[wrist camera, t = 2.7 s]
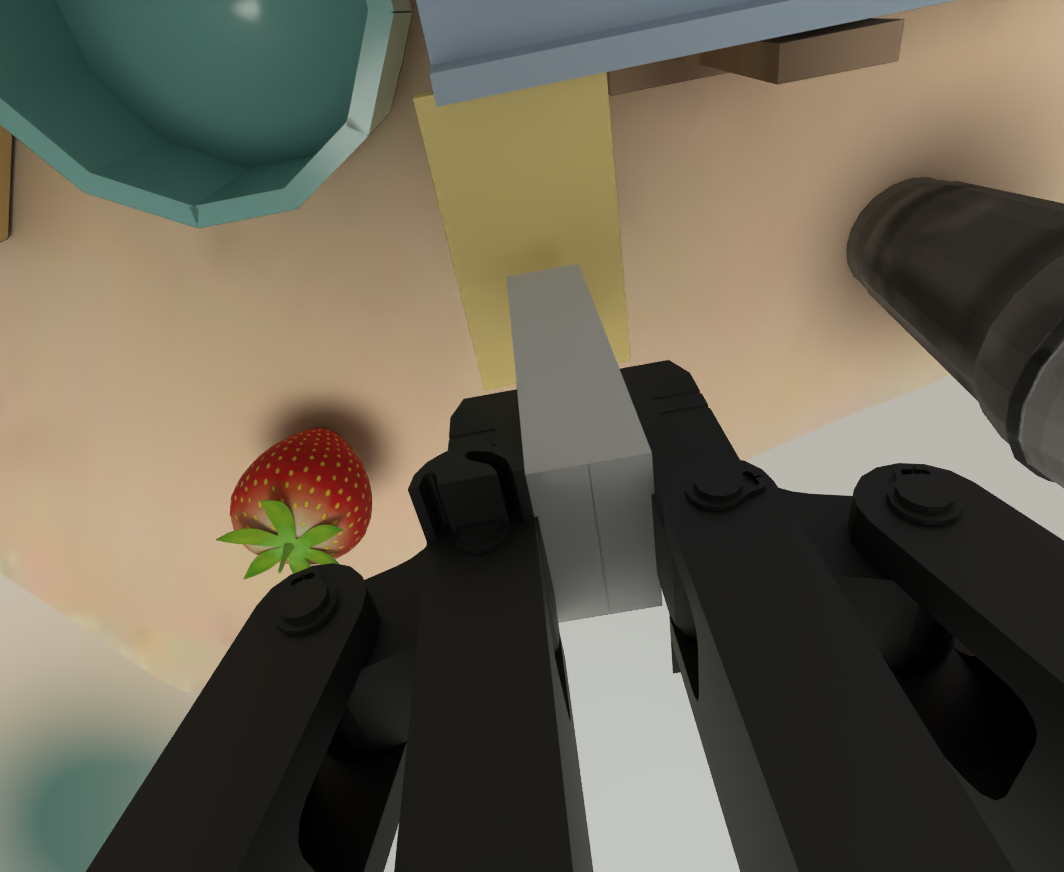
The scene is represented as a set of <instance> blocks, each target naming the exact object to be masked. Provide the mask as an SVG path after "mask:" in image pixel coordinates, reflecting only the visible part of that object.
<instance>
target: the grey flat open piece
mask: <svg viewBox="0 0 1064 872" xmlns="http://www.w3.org/2000/svg"><path fill="white" fill-rule="evenodd" d="M951 1H956V0H416V2H417V7H418V11H419V16H420V20H421V25H422V29H423V34H424V38H425V43H426V47H427V51H428V56H429V60H430V65H431V67H430V72H429V76H430V80H431V85H432V89H433V91H430V92H426V93H421V94H416V95H414V97H413V101H414V105H415V109H416V113H417V118H418V122H419V126H420V130H421V134H422V138H423V142H424V146H425V150H426V154H427V158H428V162H429V166H430V171H431V175H432V179H433V183H434V187H435V191H436V195H437V199H438V203H439V207H440V211H441V215H442V219H443V224H444V228H445V232H446V236H447V240H448V244H449V248H450V252H451V256H452V260H453V264H454V268H455V272H456V277H457V281H458V285H459V289H460V293H461V297H462V301H463V305H464V309H465V313H466V317H467V321H468V325H469V330H470V334H471V338H472V342H473V346H474V350H475V354H476V358H477V362H478V366H479V370H480V374H481V379H482V383H483V387H484V391H486V390H490V389H495V388H500V387H505V386H510V385H514V384H517V383H516V373H515V362H514V351H513V341H512V330H511V320H510V309H509V299H508V288H507V277H509V276H515V275H520V274H526V273H531V272H536V271H542V270H547V269H552V268H558V267H563V266H568V265H574V264H579V266H580V268H581V271H582V273H583V276H584V279H585V281H586V284H587V286H588V289H589V291H590V294H591V297H592V299H593V302H594V304H595V307H596V310H597V312H598V315H599V317H600V320H601V323H602V325H603V328H604V330H605V333H606V335H607V338H608V341H609V343H610V346H611V348H612V351H613V354H614V356H615V359H616V361H617V363H620V362H625V361H630V360H631V358H630V346H629V335H628V323H627V311H626V299H625V287H624V275H623V263H622V251H621V239H620V227H619V215H618V203H617V191H616V179H615V167H614V156H613V144H612V132H611V120H610V108H609V96H608V84H607V72H609V71H614V70H619V69H624V68H629V67H633V66H638V65H643V64H648V63H653V62H658V61H663V60H668V59H673V58H677V57H682V56H687V55H692V54H697V53H702V52H707V51H712V50H716V49H721V48H726V47H731V46H736V45H741V44H746V43H751V42H756V41H760V40H765V39H770V38H775V37H780V36H785V35H790V34H795V33H800V32H804V31H809V30H814V29H819V28H824V27H829V26H834V25H839V24H844V23H848V22H853V21H858V20H863V19H868V18H873V17H878V16H883V15H887V14H892V13H897V12H902V11H907V10H912V9H917V8H922V7H927V6H931V5H936V4H941V3H946V2H951Z"/></svg>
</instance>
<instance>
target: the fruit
mask: <svg viewBox="0 0 1064 872" xmlns="http://www.w3.org/2000/svg"><path fill="white" fill-rule="evenodd" d="M371 512H372V493H371V488H370V483H369V479H368V476H367V474H366V471H365V469H364V467H363V465H362V463H361V462H360V460H359V459H358V457H357V456H356V454H355V453H354V452H353V450H352V449H351V448H350V446H349V445H348V444H347V443H346V442H345V441H344V440H343V439H342V438H341V437H340V436H339V435H337V434H336V433H334V432H332V431H330V430H327V429H323V428H314V429H309V430H305V431H302V432H299V433H296V434H294V435H292V436H290V437H288V438H286V439H284V440H282V441H280V442H279V443H277V444H275V445H273V446H272V447H270V448H269V449H268V450H266V451H265V452H264V453H263V454H261V455H260V456H259V457H258V458H257V459H256V460H255V461H254V462H253V463H252V464H251V465H250V467H249V468H248V469H247V470H246V471H245V472H244V474H243V475H242V477H241V478H240V480H239V481H238V483H237V485H236V487H235V489H234V492H233V494H232V496H231V506H230V516H231V521H232V525H233V529H234V531H232V532H229V533H227V534H225V535H224V536H222V537H220V538H218V539H216V540H218V541H223V542H228V543H236V544H243V545H244V546H245V547H246V548H247V549H248V550H250V551H251V552H253V553H255V554H257V555H259V556H257V557H256V558H255V559H254V560H253V562H252V563H251V565H250V567H249V569H248V571H247V573H246V575H245V577H244V579H247V578H250V577H252V576H255V575H258V574H260V573H262V572H264V571H266V570H268V569H270V568H271V567H273V566H274V565H275V564H276V563H278V562H281V563H280V567H279V570H278V573H281V571H282V569H283V567H284V565H285V563H286V564H289V565H290V568H291V570H292V572H293V574H294V573H296V572H299V571H301V570H304V569H306V568H308V567H311V565H310V564H330V563H335V564H339V563H338V562H337V561H336V560H335V559H336V558H338V557H340V556H342V555H344V554H346V553H347V552H349V551H350V550H351V549H353V548H354V547H355V546H356V545H357V544H358V543H359V542H360V541H361V539H362V538H363V536H364V535H365V533H366V530H367V527H368V525H369V522H370V519H371Z"/></svg>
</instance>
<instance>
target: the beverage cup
mask: <svg viewBox="0 0 1064 872" xmlns="http://www.w3.org/2000/svg"><path fill="white" fill-rule="evenodd" d="M847 259H848V265H849V267H850V269H851V271H852V273H853V275H854V277H856V278H857V279H858V280H859V281H860V282H861V283H862V284H863V285H864V286H865V288H866V289H867V291H868V293H869V294H870V295H871V296H872V297H873V298H874V299H875V300H876V301H877V302H878V303H879V304H880V305H881V306H882V307H883V308H884V309H885V310H886V311H887V312H888V313H889V314H890V315H891V316H892V317H893V318H894V319H895V320H896V321H897V322H898V323H899V324H900V325H901V326H902V327H903V328H904V329H905V330H906V331H907V332H908V333H909V334H910V335H911V336H912V337H913V338H914V339H915V340H916V341H917V342H918V343H919V344H920V345H921V346H923V347H924V348H925V349H926V350H927V351H928V352H929V353H930V354H931V355H932V356H933V357H934V358H935V359H936V360H937V361H938V362H939V363H940V364H941V365H942V366H943V367H944V368H945V369H946V370H947V371H948V372H949V373H950V374H951V375H952V376H953V377H954V378H955V379H956V380H957V381H958V382H959V383H960V384H961V385H962V386H963V387H964V388H965V389H966V390H967V391H968V392H969V393H970V394H971V395H972V396H973V397H974V398H975V399H976V400H977V401H978V402H979V404H980V407H981V409H982V412H983V413H984V415H985V416H986V417H987V419H988V420H989V421H990V423H991V424H992V425H993V427H994V428H995V429H996V431H997V432H998V433H999V435H1000V436H1001V437H1002V438H1003V439H1004V440H1005V441H1006V442H1007V443H1009V444H1010V447H1011V450H1012V452H1013V455H1014V458H1015V459H1016V460H1018V461H1019V462H1020V463H1021V464H1023V465H1024V466H1025V467H1027V468H1028V469H1029V470H1030V471H1032V472H1033V473H1034V474H1036V475H1037V476H1039V477H1042V478H1044V479H1046V480H1048V481H1051V482H1056V483H1057V484H1059V485H1060V486H1062V487H1063V488H1064V204H1063V203H1058V202H1054V201H1049V200H1044V199H1039V198H1034V197H1030V196H1025V195H1020V194H1015V193H1011V192H1006V191H1001V190H996V189H992V188H987V187H982V186H977V185H972V184H968V183H963V182H958V181H955V182H948V181H942V180H941V181H938V180H935V179H932V178H911V179H909V180H906V181H903V182H900V183H898V184H895V185H893V186H891V187H890V188H888V189H887V190H885V191H884V192H882V193H881V194H879V195H878V196H876V197H875V198H874V199H873V200H872V201H871V203H870V204H869V205H868V206H867V207H866V208H865V209H864V210H863V211H862V212H861V214H860V216H859V217H858V219H857V221H856V223H855V224H854V226H853V228H852V230H851V233H850V237H849V241H848V245H847Z"/></svg>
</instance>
